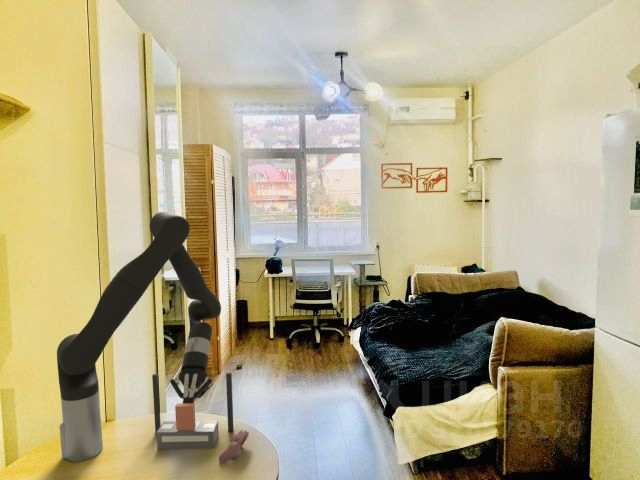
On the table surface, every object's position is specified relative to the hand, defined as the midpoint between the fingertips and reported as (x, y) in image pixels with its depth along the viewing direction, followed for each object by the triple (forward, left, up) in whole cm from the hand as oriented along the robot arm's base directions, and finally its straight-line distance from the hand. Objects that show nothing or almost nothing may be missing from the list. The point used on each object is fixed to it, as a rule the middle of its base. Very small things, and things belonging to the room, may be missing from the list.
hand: (186, 412), depth 125 cm
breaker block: (0, 0, -9) cm, 9 cm away
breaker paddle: (0, -1, -4) cm, 4 cm away
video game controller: (+15, -5, -10) cm, 18 cm away
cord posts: (0, +6, -9) cm, 11 cm away
